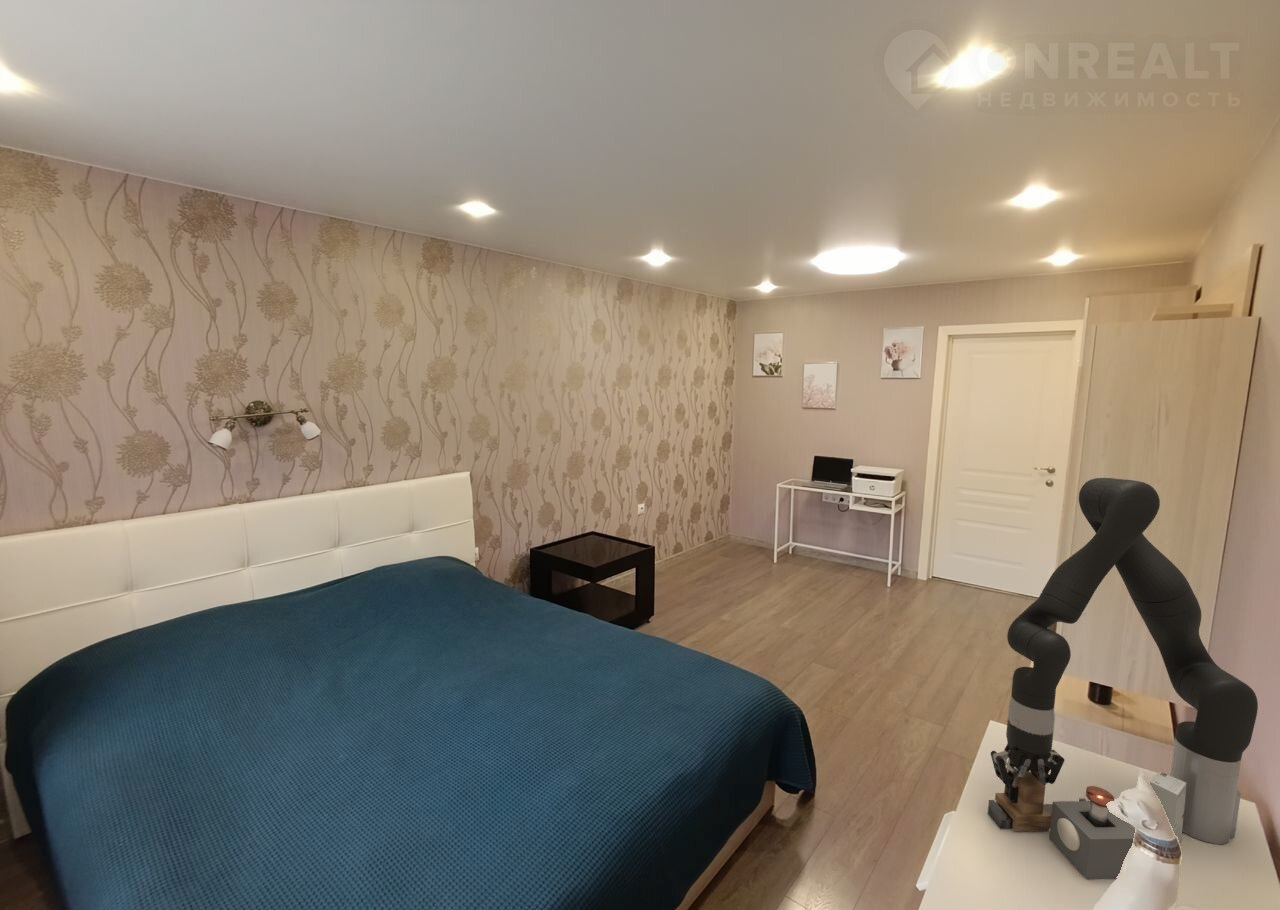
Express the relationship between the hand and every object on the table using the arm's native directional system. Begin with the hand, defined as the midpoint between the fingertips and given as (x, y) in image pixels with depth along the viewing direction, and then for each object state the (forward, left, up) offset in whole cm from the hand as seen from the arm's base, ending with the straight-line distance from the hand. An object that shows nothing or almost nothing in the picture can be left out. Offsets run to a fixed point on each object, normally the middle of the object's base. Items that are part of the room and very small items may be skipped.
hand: (1023, 799), depth 113 cm
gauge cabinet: (-7, +9, -5) cm, 13 cm away
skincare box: (-24, +5, -5) cm, 25 cm away
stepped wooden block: (0, 0, -4) cm, 4 cm away
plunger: (-7, +9, +1) cm, 12 cm away
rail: (-4, 0, -5) cm, 6 cm away
